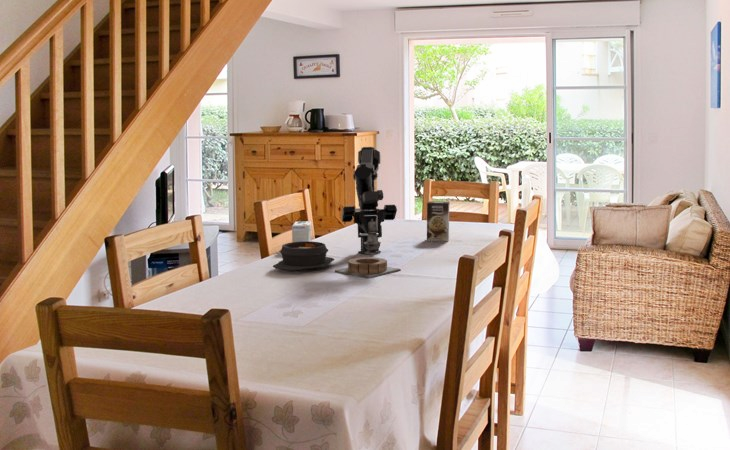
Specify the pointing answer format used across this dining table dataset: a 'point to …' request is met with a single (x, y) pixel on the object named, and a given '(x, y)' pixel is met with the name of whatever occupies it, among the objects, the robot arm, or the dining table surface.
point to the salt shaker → (372, 239)
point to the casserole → (303, 256)
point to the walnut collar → (367, 267)
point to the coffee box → (438, 221)
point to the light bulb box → (301, 231)
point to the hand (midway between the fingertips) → (372, 232)
